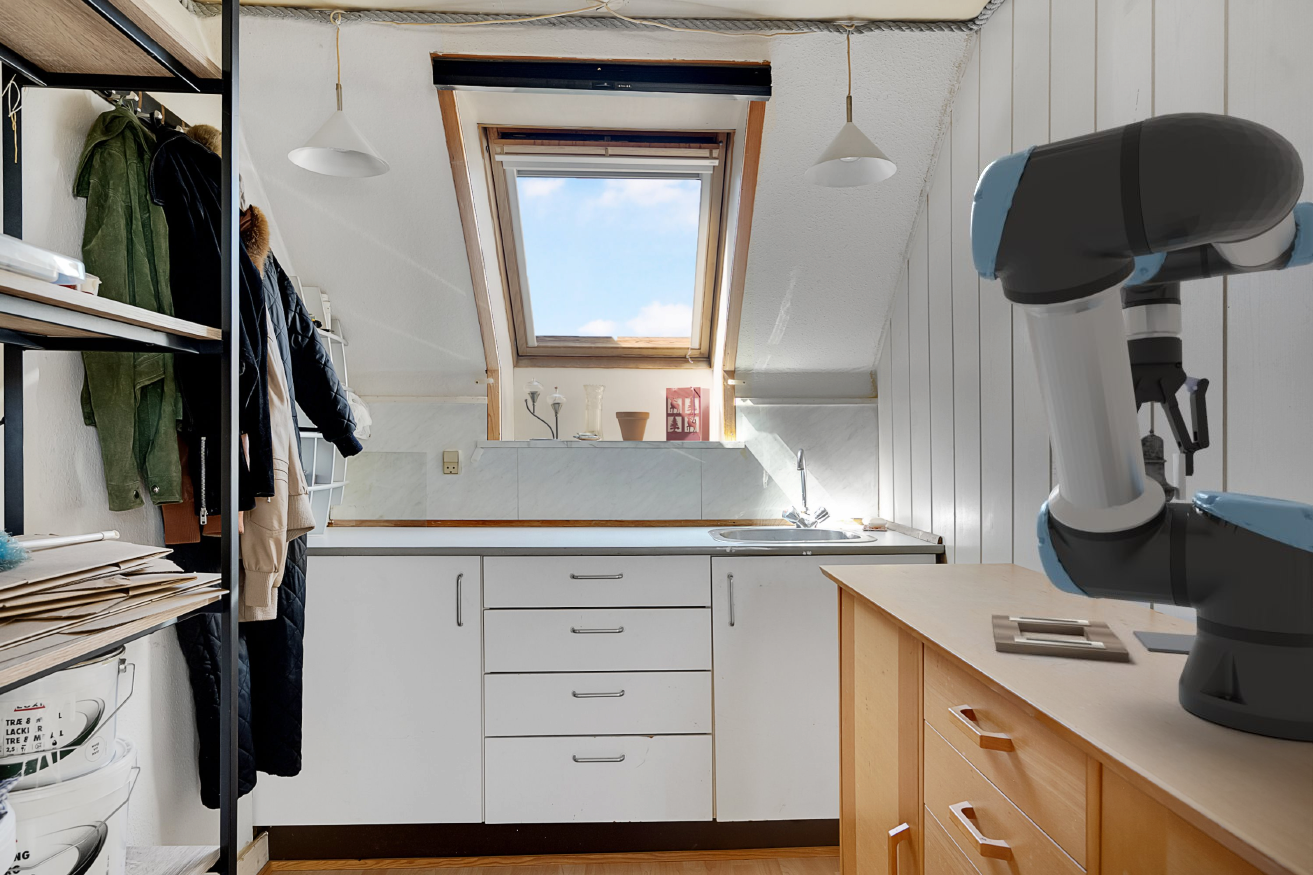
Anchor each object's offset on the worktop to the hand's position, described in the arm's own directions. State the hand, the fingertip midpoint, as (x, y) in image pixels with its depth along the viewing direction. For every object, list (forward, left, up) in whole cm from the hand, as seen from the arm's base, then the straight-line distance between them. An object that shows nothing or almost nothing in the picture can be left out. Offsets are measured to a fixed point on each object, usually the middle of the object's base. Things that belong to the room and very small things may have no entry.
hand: (1153, 498), depth 107 cm
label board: (-2, +13, -21) cm, 25 cm away
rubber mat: (+1, -3, -21) cm, 21 cm away
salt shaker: (0, 0, -2) cm, 2 cm away
